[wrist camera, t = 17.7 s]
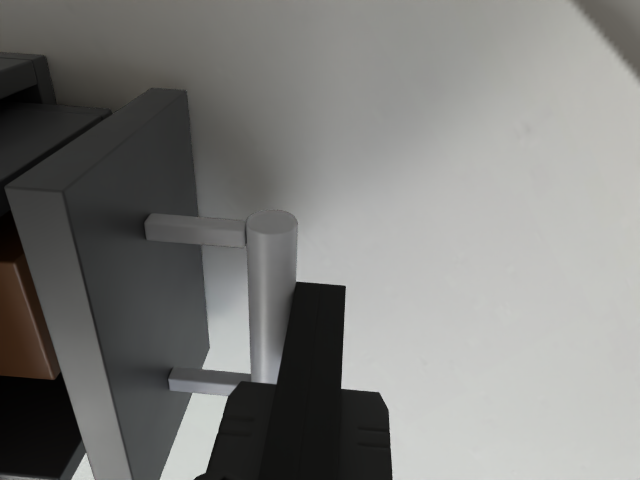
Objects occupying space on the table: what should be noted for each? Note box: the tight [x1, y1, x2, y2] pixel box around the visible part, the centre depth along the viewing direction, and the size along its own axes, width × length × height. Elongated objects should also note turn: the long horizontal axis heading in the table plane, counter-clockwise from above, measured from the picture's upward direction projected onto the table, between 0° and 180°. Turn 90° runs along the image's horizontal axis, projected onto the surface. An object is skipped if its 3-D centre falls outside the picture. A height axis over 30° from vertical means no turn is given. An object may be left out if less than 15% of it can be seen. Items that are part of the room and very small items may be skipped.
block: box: [0, 210, 61, 380], centre depth 16 cm, size 4×4×4 cm
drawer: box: [0, 88, 298, 480], centre depth 16 cm, size 18×11×8 cm, turn 87°
